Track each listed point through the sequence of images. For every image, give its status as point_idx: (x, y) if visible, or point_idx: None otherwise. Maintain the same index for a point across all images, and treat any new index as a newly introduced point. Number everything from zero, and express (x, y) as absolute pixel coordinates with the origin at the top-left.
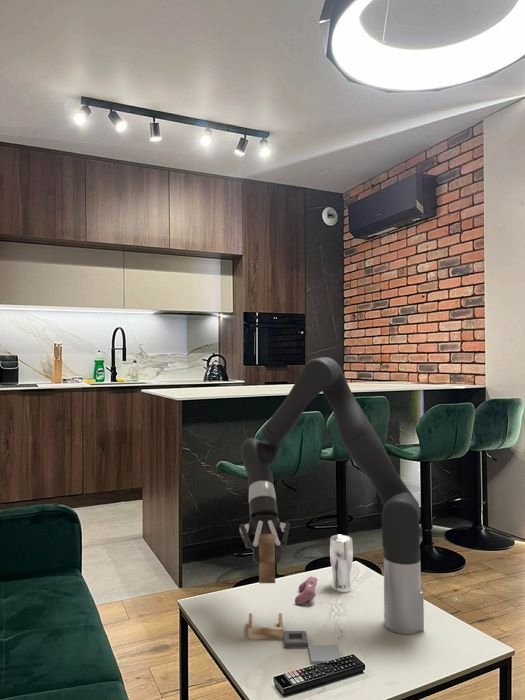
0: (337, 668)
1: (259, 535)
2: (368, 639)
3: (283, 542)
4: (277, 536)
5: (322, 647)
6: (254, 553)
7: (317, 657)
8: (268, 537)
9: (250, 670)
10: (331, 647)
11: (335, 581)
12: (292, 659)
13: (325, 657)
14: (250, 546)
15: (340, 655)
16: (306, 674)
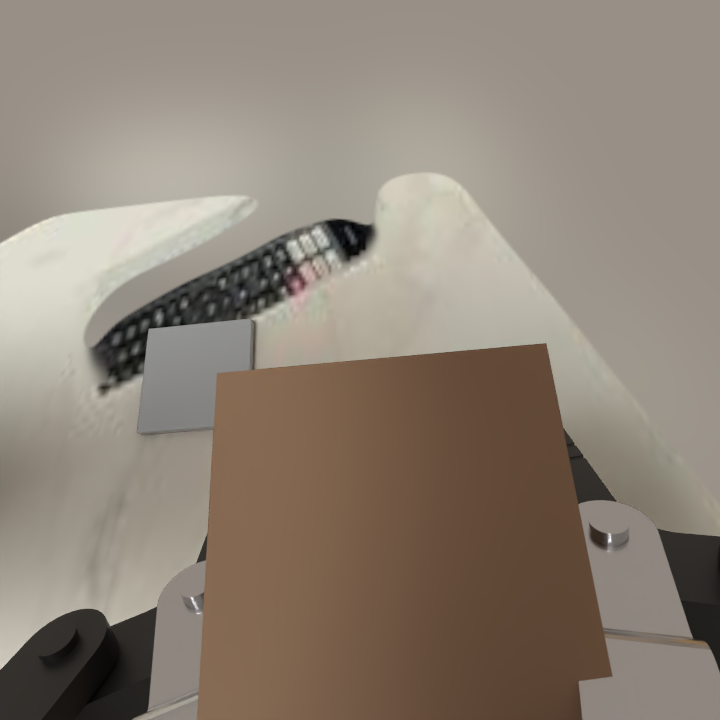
0: (175, 308)
1: (580, 600)
2: (10, 499)
3: (100, 616)
4: (149, 710)
5: (196, 406)
6: (573, 462)
7: (226, 341)
8: (345, 451)
9: (459, 271)
10: (163, 409)
11: None
12: (315, 344)
13: (199, 344)
14: (690, 544)
15: (145, 359)
16: (276, 269)
